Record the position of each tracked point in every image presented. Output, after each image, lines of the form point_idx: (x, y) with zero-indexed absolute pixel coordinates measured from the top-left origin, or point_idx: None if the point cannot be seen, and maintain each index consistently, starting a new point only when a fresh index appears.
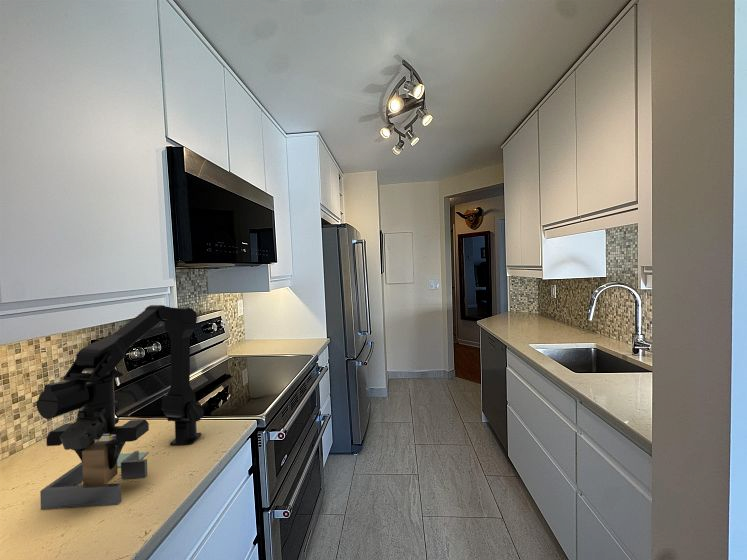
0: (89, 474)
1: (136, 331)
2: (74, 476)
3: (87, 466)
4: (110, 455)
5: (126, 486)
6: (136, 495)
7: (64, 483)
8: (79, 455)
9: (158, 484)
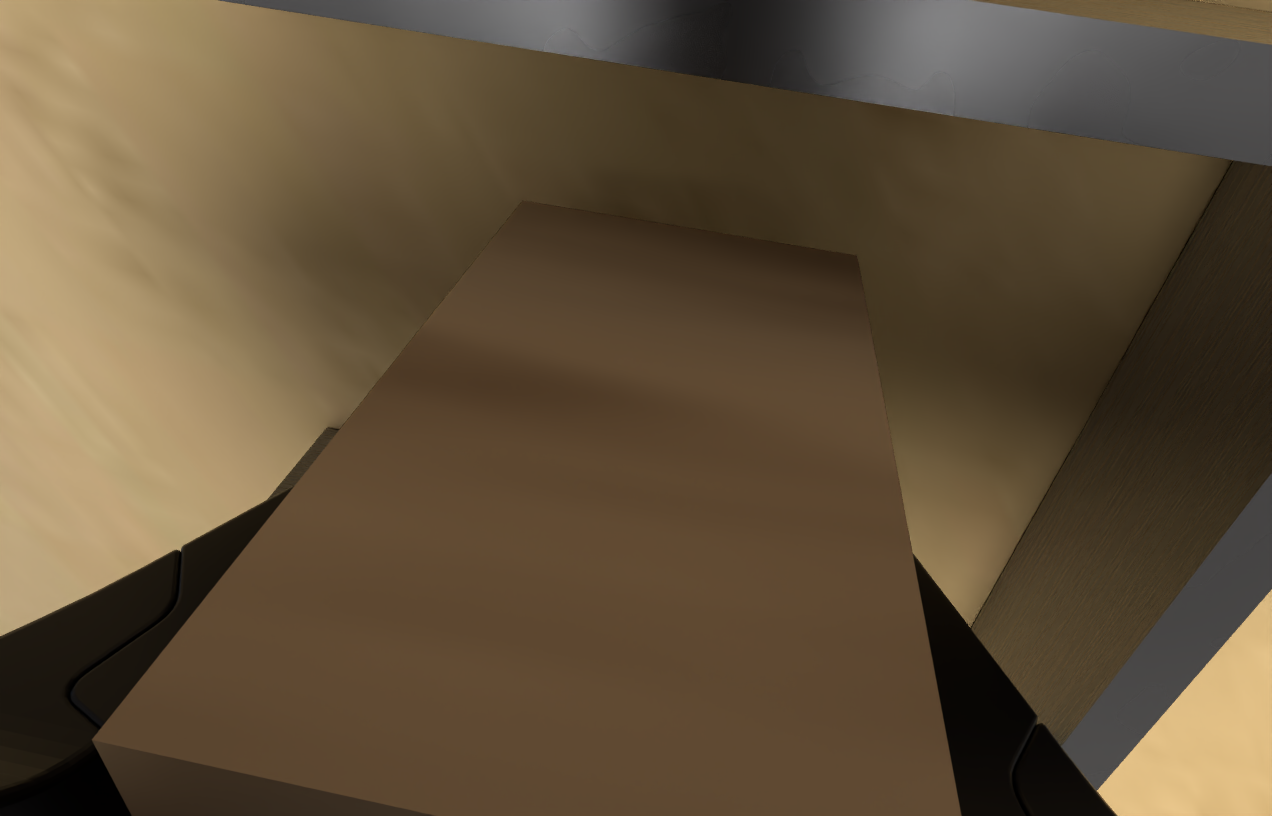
0: (742, 340)
1: None
2: (1099, 576)
3: (773, 447)
4: (214, 582)
5: (426, 312)
6: (157, 60)
7: (1196, 437)
8: (1078, 808)
9: (72, 248)
